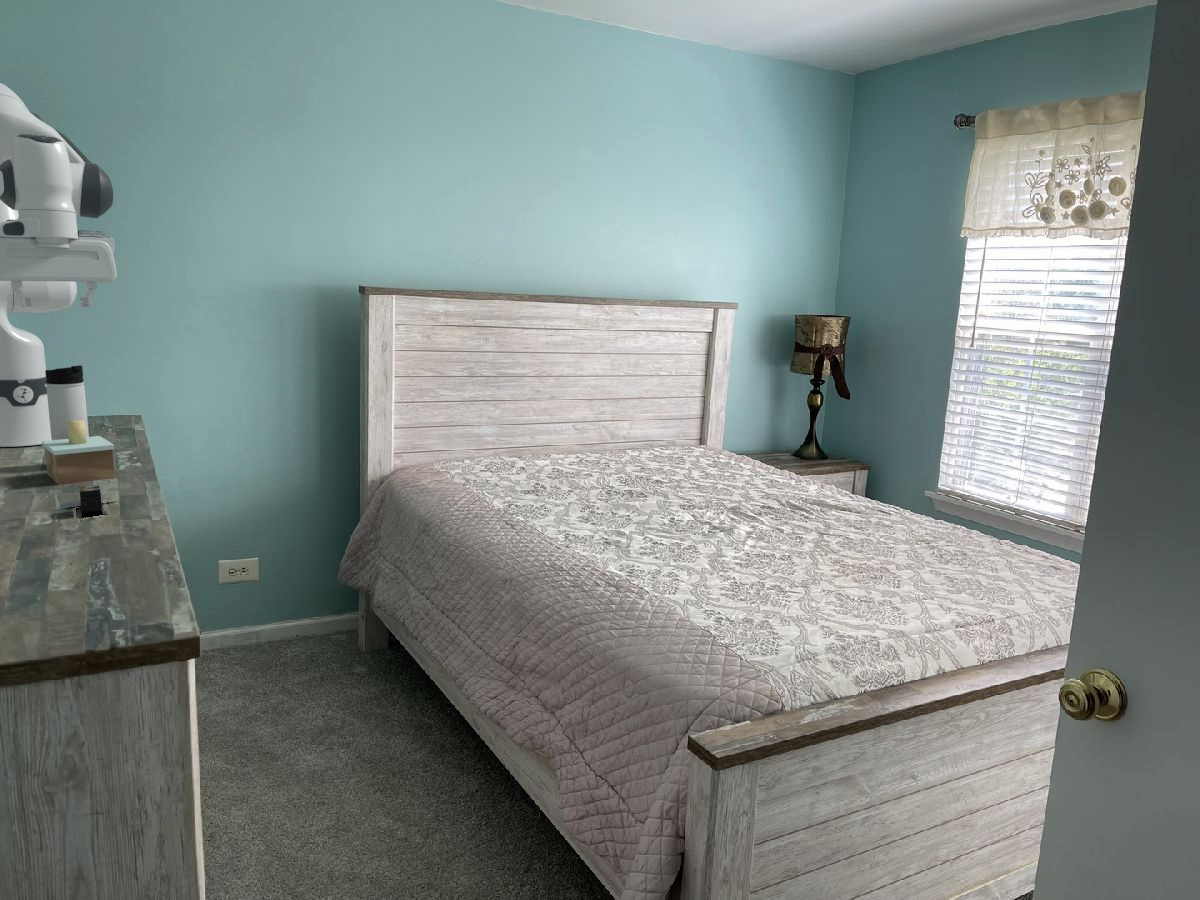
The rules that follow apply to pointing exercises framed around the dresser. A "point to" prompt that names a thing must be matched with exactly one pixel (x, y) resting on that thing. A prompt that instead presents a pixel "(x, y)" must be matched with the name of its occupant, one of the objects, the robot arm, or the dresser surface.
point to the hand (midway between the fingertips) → (56, 307)
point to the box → (80, 466)
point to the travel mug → (65, 399)
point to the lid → (77, 441)
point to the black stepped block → (90, 502)
